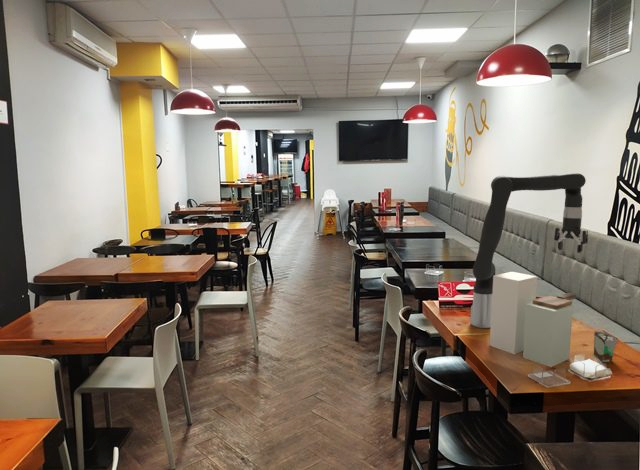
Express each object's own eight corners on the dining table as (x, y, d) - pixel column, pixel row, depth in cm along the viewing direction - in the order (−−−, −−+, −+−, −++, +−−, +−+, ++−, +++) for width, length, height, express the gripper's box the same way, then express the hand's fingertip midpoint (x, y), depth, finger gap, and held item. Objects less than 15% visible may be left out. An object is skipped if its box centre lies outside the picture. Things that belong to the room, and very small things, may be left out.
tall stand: (489, 345, 208) (493, 275, 203) (508, 339, 216) (512, 271, 211) (514, 354, 198) (518, 280, 193) (532, 347, 206) (537, 276, 201)
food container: (620, 366, 186) (622, 342, 184) (603, 365, 187) (605, 341, 185) (608, 354, 198) (610, 331, 196) (592, 353, 199) (594, 330, 197)
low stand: (522, 357, 195) (526, 304, 191) (541, 349, 202) (544, 298, 199) (550, 367, 185) (554, 311, 182) (569, 359, 193) (573, 305, 190)
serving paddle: (532, 303, 192) (532, 298, 192) (560, 295, 205) (560, 290, 204) (556, 309, 184) (556, 304, 184) (584, 300, 197) (584, 295, 196)
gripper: (552, 215, 218) (550, 249, 220) (584, 218, 207) (581, 254, 209) (561, 215, 222) (558, 248, 225) (592, 217, 211) (589, 252, 213)
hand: (569, 251), depth 217 cm, fingers open, 8 cm apart
